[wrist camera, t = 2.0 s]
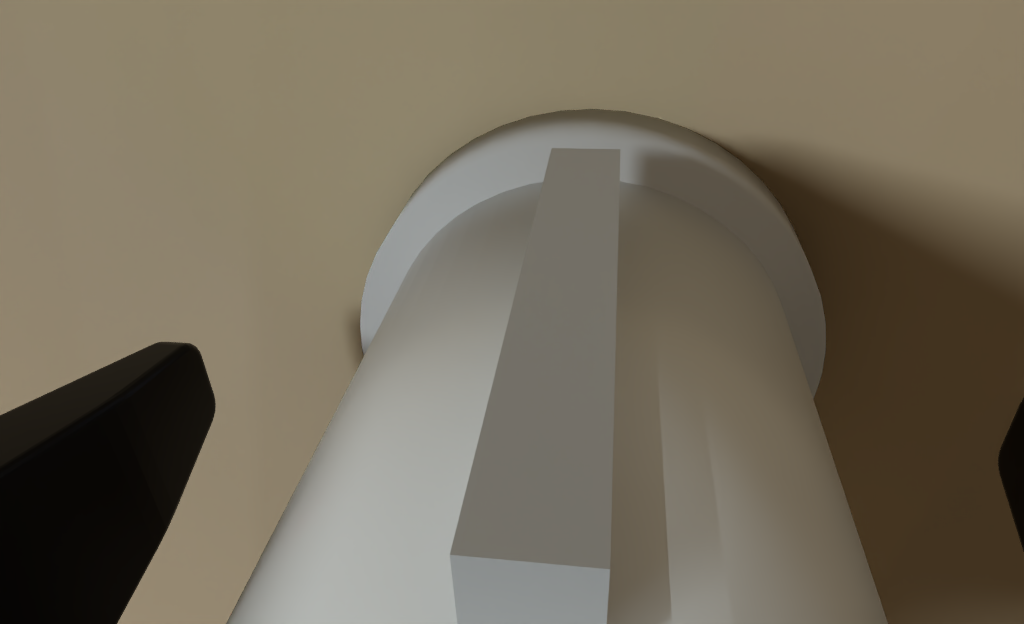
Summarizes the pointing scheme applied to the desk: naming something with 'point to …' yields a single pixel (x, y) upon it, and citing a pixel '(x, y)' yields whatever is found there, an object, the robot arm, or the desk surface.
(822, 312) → the white knob
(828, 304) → the desk surface
